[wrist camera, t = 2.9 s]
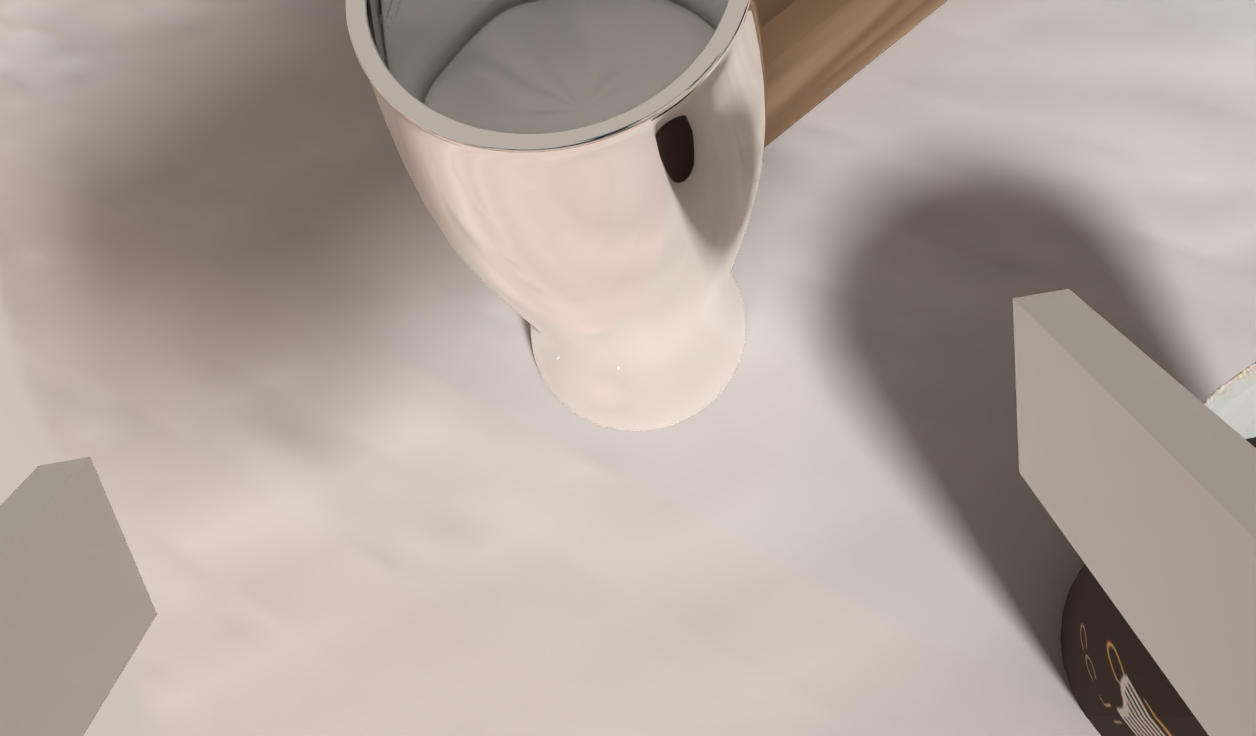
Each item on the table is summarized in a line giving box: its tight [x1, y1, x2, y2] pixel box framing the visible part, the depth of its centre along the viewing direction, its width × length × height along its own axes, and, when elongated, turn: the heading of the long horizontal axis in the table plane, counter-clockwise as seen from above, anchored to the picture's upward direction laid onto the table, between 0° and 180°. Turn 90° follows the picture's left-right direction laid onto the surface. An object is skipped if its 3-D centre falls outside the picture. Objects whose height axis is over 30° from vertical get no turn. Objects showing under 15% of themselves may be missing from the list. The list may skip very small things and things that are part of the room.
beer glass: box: [346, 0, 766, 431], centre depth 24 cm, size 7×7×15 cm
